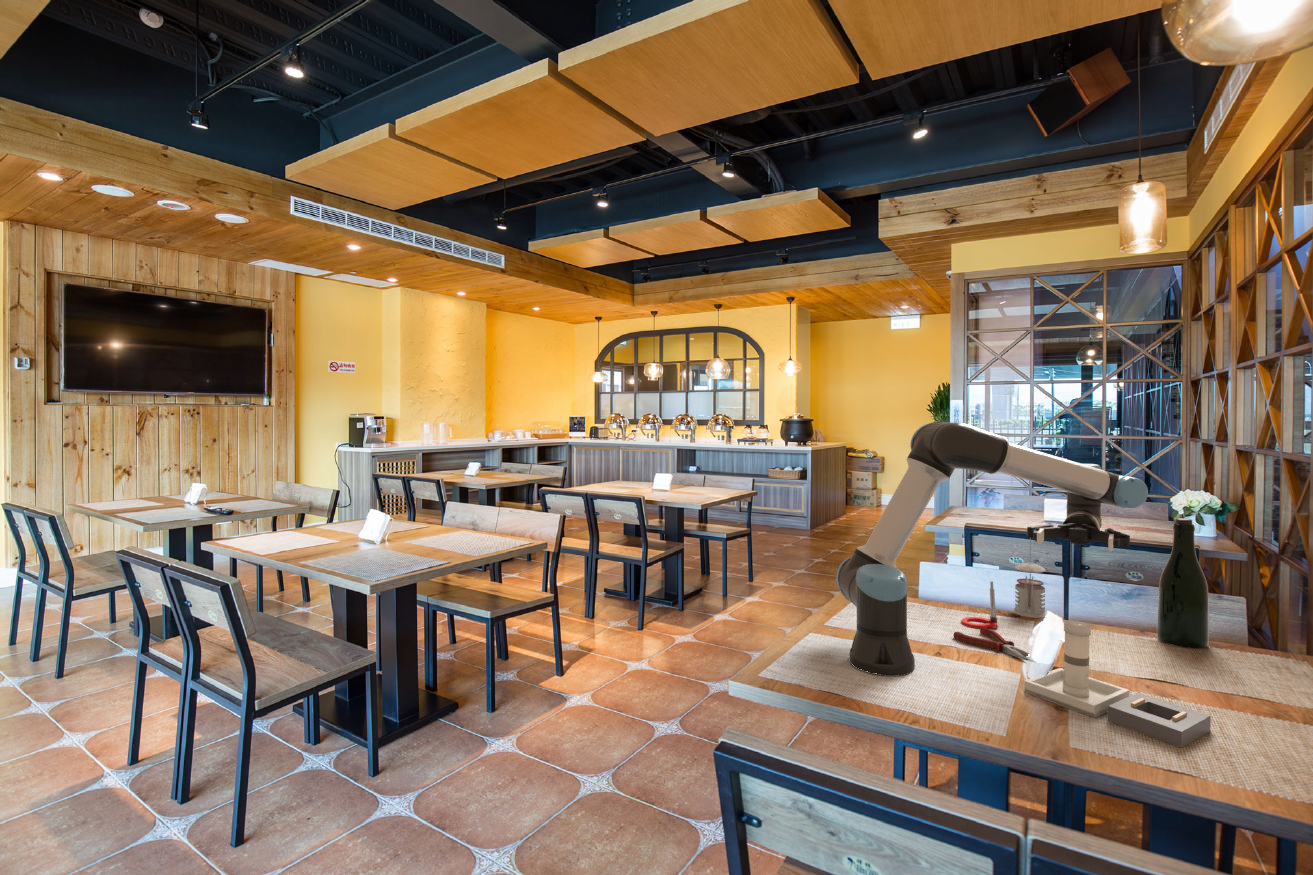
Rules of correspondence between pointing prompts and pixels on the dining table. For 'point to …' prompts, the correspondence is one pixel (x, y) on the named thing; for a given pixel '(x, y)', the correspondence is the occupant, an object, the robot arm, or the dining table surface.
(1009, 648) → the pliers
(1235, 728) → the dining table surface
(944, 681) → the dining table surface
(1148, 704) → the fuse socket
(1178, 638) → the dark green wine bottle
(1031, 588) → the french press
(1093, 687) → the parts tray
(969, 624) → the tow hook
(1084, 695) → the cylinder
